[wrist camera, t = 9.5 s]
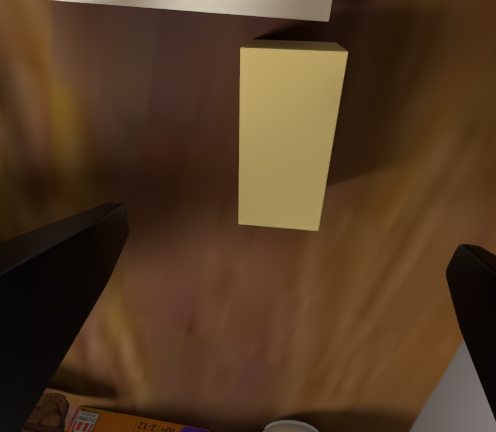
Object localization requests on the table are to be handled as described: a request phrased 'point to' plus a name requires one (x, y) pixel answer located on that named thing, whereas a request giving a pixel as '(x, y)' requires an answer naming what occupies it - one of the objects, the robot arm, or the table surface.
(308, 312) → the table surface
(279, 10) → the trolley
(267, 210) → the block
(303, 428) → the lidded jar
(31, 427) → the wooden carving
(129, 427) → the game box
